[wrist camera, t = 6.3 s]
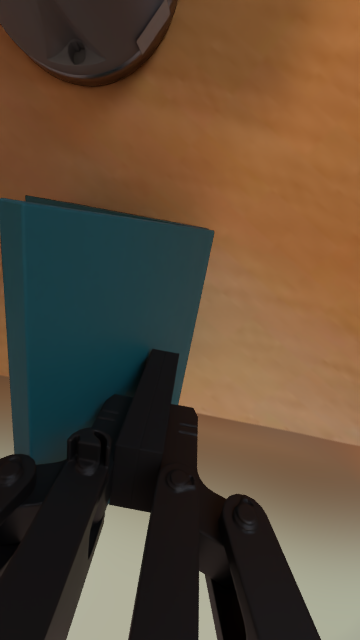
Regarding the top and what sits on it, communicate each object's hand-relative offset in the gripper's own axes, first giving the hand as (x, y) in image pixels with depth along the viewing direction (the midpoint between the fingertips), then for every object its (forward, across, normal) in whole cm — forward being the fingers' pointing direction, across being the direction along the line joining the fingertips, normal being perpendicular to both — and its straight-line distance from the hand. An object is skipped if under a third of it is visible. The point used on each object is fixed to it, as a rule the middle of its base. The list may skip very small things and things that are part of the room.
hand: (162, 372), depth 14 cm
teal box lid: (0, -2, 0) cm, 2 cm away
